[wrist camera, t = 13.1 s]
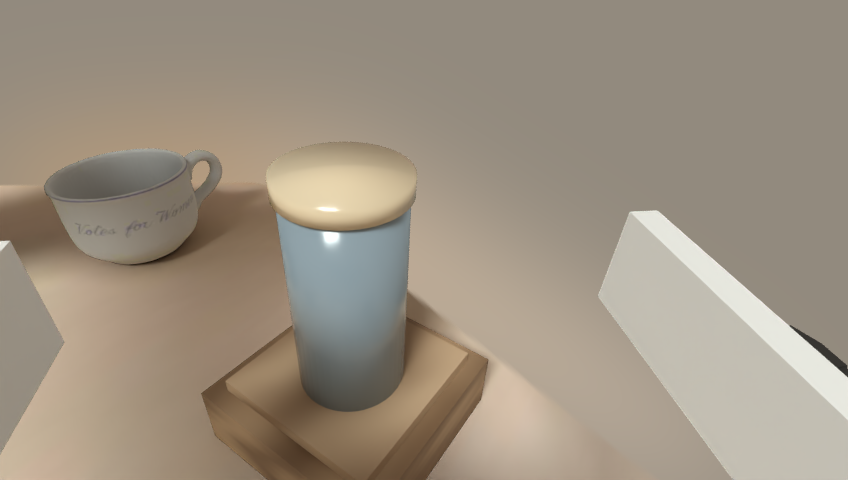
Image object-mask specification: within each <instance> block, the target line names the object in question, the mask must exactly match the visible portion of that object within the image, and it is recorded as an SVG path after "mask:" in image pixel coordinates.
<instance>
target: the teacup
mask: <svg viewBox="0 0 848 480" xmlns="http://www.w3.org/2000/svg"><path fill="white" fill-rule="evenodd" d="M199 161H207V162H208V164H209V166H210V173H209V175H208V177H207V179H206V181H205V182H204V183H203V184H202V185H201V186H200V187H199V188H198V189H197V190H196V191H195V192H194V190H193V186H192V183H191V179H192V169H193V168H194V166H195V165H196V163H197V162H199ZM221 175H222V166H221V164H220V162H219V160H218V158H217V157H216V156H215V155H214V154H212V153H210V152H208V151H205V150H195V151H193V152H190V153H189V154H187V155H186V156H185V157H183V156H182V155H180V154H178V153H176V152H173V151H168V150H163V149H132V150H124V151H117V152H111V153H106V154H102V155H97V156H94V157H90V158H87V159H84V160H81V161H78V162H76V163H73V164H71V165H68V166H66V167H64V168H62V169H61V170H59V171H57V172H56V173H54V174H53V175H52V176H51V177H50V178H49V179H48V180H47V182H46V183H45V185H44V190H45V193H46V194H47V196H48V197H49V198H50V199H51V201H52V203H53V205H54V207H55V209H56V211H57V213H58V215H59V217H60V219H61V221H62V223H63V225H64V227H65V229H66V231H67V233H68V234H69V236H70V238H71V239H72V241H73V242H74V244H75V245H76V246H77V247H78V248H79V249H80V250H81V251H82V252H84V253H85V254H87V255H89V256H91V257H93V258H96V259H100V260H104V261H110V262H114V263H119V264H138V263H144V262H148V261H152V260H155V259H158V258H161V257H163V256H166V255H168V254H170V253H171V252H173V251H174V250H176V249H177V248H178V247H179V246H181V245H182V244H183V242H184V241H185V239H186V238H187V237H188V236H189V235H190V234H191V233H192V232H193V230H194V228H195V226H196V224H197V221H198V209H199V208H200V206H201V203H202V201H203V200H204V199H205V198H206V197H207V196H208V195H209V194H210V193H211V192H212V191H213V190H214V189H215V187H216V186H217V184H218V183H219V181H220V179H221Z"/></svg>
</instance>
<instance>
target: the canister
mask: <svg viewBox="0 0 848 480" xmlns="http://www.w3.org/2000/svg"><path fill="white" fill-rule="evenodd" d="M266 183H267V190H268V196H269V201H270V204H271V206H272V208H273V209H274V210H275V211H276V216H277V223H278V230H279V237H280V244H281V251H282V257H283V264H284V271H285V278H286V285H287V291H288V298H289V305H290V312H291V319H292V326H293V332H294V339H295V346H296V353H297V360H298V366H299V373H300V380H301V384H302V386H303V389H304V390H305V392H306V394H307V395H308V396H309V397H310V398H311V399H312V400H313V401H314V402H316V403H317V404H319V405H321V406H323V407H325V408H327V409H331V410H335V411H341V412H354V411H361V410H365V409H368V408H371V407H374V406H376V405H378V404H380V403H382V402H383V401H385V400H386V399H387V398H389V397H390V396H391V395H392V394H393V393H394V391H395V390H396V389H397V388H398V386H399V384H400V382H401V380H402V377H403V372H404V351H405V329H406V306H407V284H408V281H407V280H408V260H409V238H410V237H409V236H410V216H411V206H412V205H413V203H414V201H415V198H416V183H417V170H416V168H415V166H414V164H413V163H412V162H411V161H410V160H409V159H408V158H407V157H405V156H404V155H402V154H401V153H398V152H396V151H394V150H391V149H389V148H386V147H382V146H378V145H373V144H367V143H359V142H328V143H320V144H314V145H310V146H305V147H301V148H298V149H295V150H292V151H290V152H288V153H285V154H284V155H282V156H280V157H278V158H277V159H276V160H274V162H272V164H270V166H269V167H268V169H267V172H266Z"/></svg>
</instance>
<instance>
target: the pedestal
mask: <svg viewBox="0 0 848 480" xmlns="http://www.w3.org/2000/svg"><path fill="white" fill-rule="evenodd" d="M487 364H488V359H486V358H484V357H482V356H481V355H479V354H477V353H475V352H473V351H471V350H469V349H467V348H465V347H463V346H461V345H459V344H457V343H455V342H454V341H452V340H450V339H448V338H446V337H444V336H442V335H440V334H438V333H436V332H434V331H432V330H430V329H428V328H427V327H425V326H423V325H421V324H419V323H417V322H415V321H413V320H411V319H409V318H407V317H406V329H405V351H404V372H403V377H402V380H401V382H400V384H399V386H398V388H397V389H396V390H395V391H394V393H393V394H392V395H391V396H390V397H389V398H387V399H386V400H385V401H383V402H382V403H380V404H378V405H376V406H374V407H371V408H368V409H365V410H361V411H354V412H341V411H335V410H331V409H327V408H325V407H323V406H321V405H319V404H317V403H316V402H314V401H313V400H312V399H311V398H310V397H309V396H308V395H307V394H306V392H305V390H304V389H303V386H302V384H301V380H300V373H299V366H298V360H297V353H296V346H295V339H294V332H293V326H291V327H289V328H288V329H287V330H285V331H284V332H283V333H281V334H280V335H279V336H277V337H276V338H275V339H273V340H272V341H271V342H269V343H268V344H267V345H265V346H264V347H262V348H261V349H260V350H258V351H257V352H256V353H254V354H253V355H252V356H250V357H249V358H248V359H246V360H245V361H244V362H242V363H241V364H240V365H238V366H237V367H236V368H234V369H233V370H232V371H230V372H229V373H228V374H226V375H225V376H224V377H222V378H221V379H220V380H218V381H217V382H216V383H214V384H213V385H212V386H210V387H209V388H208V389H206V390H205V391H204V392H202V393H201V394H202V397H203V400H204V403H205V406H206V409H207V412H208V415H209V418H210V421H211V424H212V427H213V430H214V433H215V436H217V437H218V438H219V439H220V440H221V441H222V442H224V443H225V444H226V445H227V446H228V447H230V448H231V449H232V450H233V451H234V452H235V453H237V454H238V455H239V456H240V457H241V458H243V459H244V460H245V461H246V462H247V463H248V464H250V465H251V466H252V467H253V468H254V469H256V470H257V471H258V472H259V473H260V474H261V475H263V476H264V477H265V478H266V479H267V480H426V478H427V477H428V475H429V474H430V472H431V471H432V469H433V468H434V466H435V465H436V464H437V462H438V461H439V459H440V458H441V456H442V455H443V453H444V452H445V451H446V449H447V448H448V446H449V445H450V443H451V442H452V440H453V439H454V438H455V436H456V435H457V433H458V432H459V430H460V429H461V427H462V426H463V425H464V423H465V422H466V420H467V419H468V417H469V416H470V414H471V413H472V411H473V410H474V409H475V407H476V406H477V404H478V403H479V401H480V400H481V395H482V390H483V385H484V379H485V374H486V369H487Z"/></svg>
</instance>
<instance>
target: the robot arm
mask: <svg viewBox="0 0 848 480" xmlns="http://www.w3.org/2000/svg"><path fill="white" fill-rule="evenodd" d="M598 297H599V299H600V300H601V301H602V303H603V304H604V305H605V307H606V308H607V309H608V311H609V312H610V314H611V315H612V316H613V318H614V319H615V320H616V322H617V323H618V324H619V326H620V327H621V328H622V330H623V331H624V333H625V334H626V335H627V336H628V338H629V339H630V341H631V342H632V343H633V345H634V346H635V348H636V349H637V350H638V352H639V353H640V354H641V356H642V357H643V358H644V360H645V361H646V362H647V364H648V365H649V367H650V368H651V369H652V370H653V372H654V373H655V375H656V376H657V377H658V379H659V380H660V382H662V384H663V385H664V387H665V388H666V390H667V391H668V392H669V394H670V395H671V396H672V398H673V399H674V400H675V402H676V403H677V405H678V406H679V407H680V409H681V410H682V411H683V413H684V414H685V415H686V417H687V418H688V420H689V421H690V422H691V423H692V425H693V426H694V428H695V429H696V430H697V432H698V433H699V435H700V436H701V437H702V439H703V440H704V441H705V443H706V444H707V445H708V447H709V448H710V450H711V451H712V452H713V454H714V455H715V456H716V458H717V459H718V460H719V462H720V463H721V464H722V466H723V467H724V469H725V470H726V471H727V473H728V474H729V475H730V477H731V478H732V479H733V480H848V369H847V365H846V364H845V363H843V362H842V361H841V360H840V359H839V358H838V357H837V356H835V355H834V354H833V353H832V352H831V351H830V350H828V349H827V348H826V347H825V346H824V345H822V344H821V343H820V342H818V341H816V340H815V339H813V338H811V337H809V336H808V335H806V334H804V333H803V332H801V331H799V330H798V329H796V328H794V327H793V326H791V325H790V326H789V325H787V324H786V323H785V322H784V321H783V320H782V319H781V318H779V317H778V316H777V315H776V314H775V313H774V312H773V311H771V310H770V309H769V308H768V307H767V306H766V305H765V304H763V303H762V302H761V301H760V300H759V299H758V298H757V297H755V296H754V295H753V294H752V293H751V292H749V290H747V289H746V288H745V287H744V286H743V285H742V284H741V283H739V282H738V281H737V280H736V279H735V278H734V277H733V276H732V275H730V274H729V273H728V272H727V271H726V270H725V269H724V268H722V267H721V266H720V265H719V264H718V263H717V262H716V261H714V260H713V259H712V258H711V257H710V256H709V255H708V254H706V253H705V252H704V251H703V250H702V249H701V248H700V247H698V246H697V245H696V244H695V243H694V242H693V241H692V240H690V239H689V238H688V237H687V236H686V235H685V234H684V233H682V232H681V231H680V230H679V229H678V228H677V227H676V226H674V225H673V224H672V223H671V222H670V221H669V220H668V219H666V218H665V217H664V216H663V215H662V214H661V213H660V212H658V211H636V212H630V213H629V215H628V218H627V221H626V223H625V226H624V228H623V231H622V234H621V236H620V239H619V242H618V244H617V247H616V250H615V252H614V255H613V258H612V260H611V263H610V266H609V268H608V271H607V274H606V276H605V279H604V281H603V284H602V287H601V290H600V292H599V295H598ZM63 344H64V340H63V338H62V336H61V334H60V333H59V331H58V329H57V327H56V325H55V323H54V321H53V320H52V318H51V316H50V314H49V312H48V310H47V308H46V307H45V305H44V303H43V301H42V299H41V297H40V295H39V294H38V292H37V290H36V288H35V286H34V284H33V282H32V281H31V279H30V277H29V275H28V273H27V271H26V269H25V268H24V266H23V264H22V262H21V260H20V258H19V256H18V255H17V253H16V251H15V249H14V247H13V245H12V243H11V242H10V241H0V454H1V452H2V450H3V449H4V447H5V445H6V443H7V442H8V440H9V438H10V436H11V435H12V433H13V431H14V429H15V428H16V426H17V424H18V422H19V421H20V419H21V417H22V415H23V414H24V412H25V410H26V408H27V407H28V405H29V403H30V401H31V400H32V398H33V396H34V394H35V393H36V391H37V389H38V387H39V386H40V384H41V382H42V380H43V379H44V377H45V375H46V373H47V372H48V370H49V368H50V367H51V365H52V363H53V361H54V360H55V358H56V356H57V354H58V353H59V351H60V349H61V347H62V346H63Z"/></svg>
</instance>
